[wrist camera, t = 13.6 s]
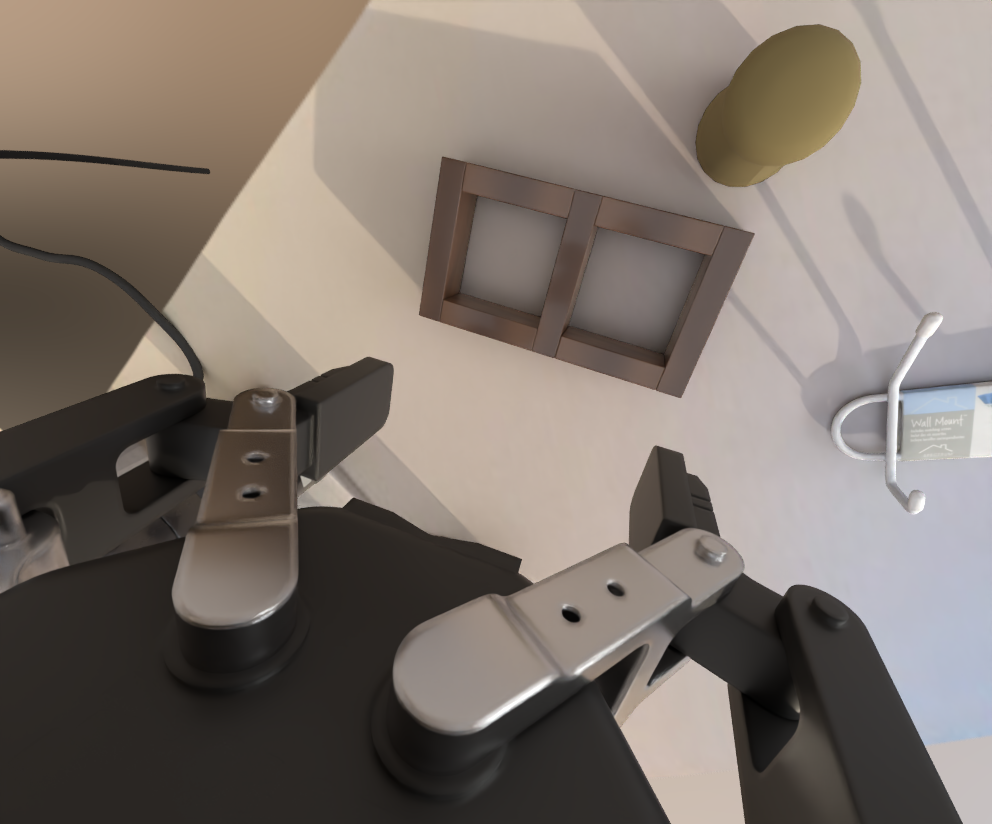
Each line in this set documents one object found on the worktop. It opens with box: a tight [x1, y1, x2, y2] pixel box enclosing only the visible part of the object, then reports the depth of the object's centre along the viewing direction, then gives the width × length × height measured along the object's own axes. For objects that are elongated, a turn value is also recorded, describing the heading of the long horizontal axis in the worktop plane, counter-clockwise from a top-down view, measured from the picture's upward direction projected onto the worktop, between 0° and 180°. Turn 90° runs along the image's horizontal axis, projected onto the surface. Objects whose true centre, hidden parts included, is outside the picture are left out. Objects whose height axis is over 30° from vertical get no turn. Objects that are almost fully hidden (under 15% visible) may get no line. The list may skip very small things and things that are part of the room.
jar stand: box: [419, 157, 755, 398], centre depth 33 cm, size 21×11×4 cm, turn 77°
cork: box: [695, 24, 861, 187], centre depth 24 cm, size 6×6×11 cm
